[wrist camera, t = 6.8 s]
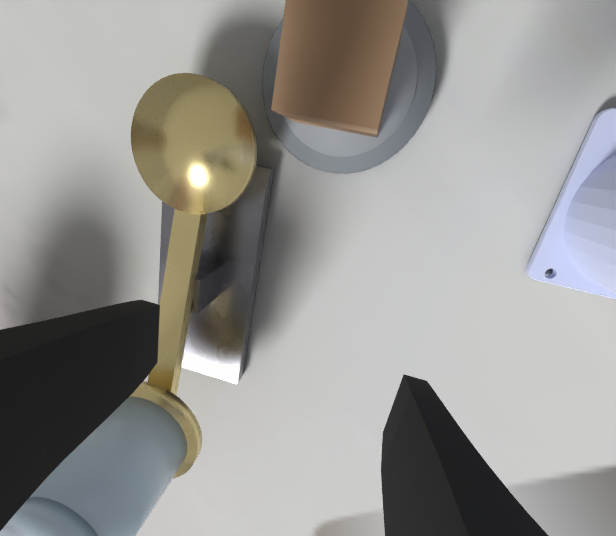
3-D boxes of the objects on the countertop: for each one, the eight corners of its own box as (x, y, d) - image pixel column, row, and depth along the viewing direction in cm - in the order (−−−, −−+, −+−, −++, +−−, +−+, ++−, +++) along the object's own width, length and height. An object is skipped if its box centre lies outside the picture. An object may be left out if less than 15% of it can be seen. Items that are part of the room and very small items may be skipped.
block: (400, 39, 14) (409, -6, 10) (377, 137, 15) (377, 129, 12) (311, 26, 14) (288, -22, 11) (296, 122, 16) (271, 110, 12)
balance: (178, 81, 17) (80, 41, 12) (284, 101, 17) (236, 69, 11) (162, 388, 25) (96, 458, 19) (237, 412, 24) (192, 492, 18)
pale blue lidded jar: (190, 413, 16) (102, 533, 11) (184, 483, 18) (104, 615, 13) (102, 384, 17) (-22, 484, 12) (104, 454, 18) (-3, 569, 13)
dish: (457, 2, 14) (464, -11, 13) (404, 187, 17) (405, 189, 16) (282, -22, 15) (275, -37, 14) (258, 156, 18) (250, 155, 17)
